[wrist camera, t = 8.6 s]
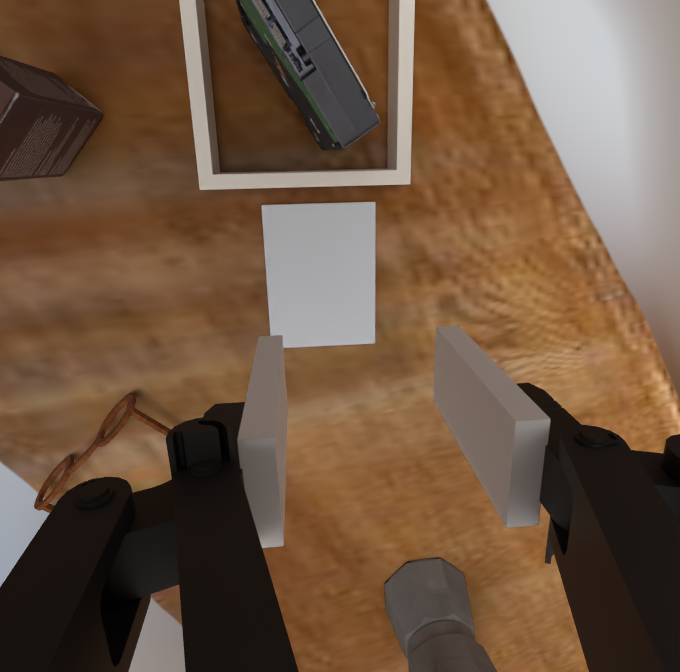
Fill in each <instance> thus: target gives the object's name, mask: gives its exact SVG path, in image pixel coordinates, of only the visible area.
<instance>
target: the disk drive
mask: <svg viewBox="0 0 680 672" xmlns="http://www.w3.org/2000/svg"><path fill="white" fill-rule="evenodd" d="M236 3H237V6H238V9H239V12H240V17H241V20H242V22H243V24H244V26H245V28H246V29H247V31H248V32H249V34H250V35H251V37H252V39H253V40H254V42H255V43H256V45H257V47H258V48H259V49H260V51H261V53H262V54H263V56H264V58H265V59H266V60H267V62H268V64H269V66H270V67H271V68H272V70H273V72H274V74H275V75H276V77H277V79H278V80H279V82H280V83H281V85H282V87H283V88H284V90H285V91H286V93H287V94H288V96H289V97H290V98H291V99H292V100H293V102H294V103H295V105H296V106H297V108H298V110H299V111H300V113H301V114H302V116H303V118H304V119H305V122H306V125H307V126H308V128H309V130H310V131H311V133H312V134H313V136H314V137H315V139H316V141H317V142H318V144H319V145H320V147H321V149H323V150H330V149H331V150H342V149H345V148H347V147H348V146H350V145H351V144H352V143H354V142H356V141H357V140H359V139H360V138H361V137H363V136H364V135H365V134H367V133H368V132H370V131H371V130H372V129H374V128H375V127H376V126H378V125H379V124H380V123H381V122H380V119H379V116H378V114H376V113H375V110H374V108H375V102H370V98H369V96H368V93H367V91H366V89H365V88H364V86H363V84H362V83H361V81H360V79H359V77H358V75H357V74H356V72H355V70H354V69H353V67H352V65H351V64H350V62H349V60H348V58H347V56H346V55H345V53H344V51H343V49H342V48H341V46H340V44H339V42H338V41H337V39H336V37H335V36H334V34H333V32H332V30H331V28H330V27H329V25H328V24H327V21H326V19H325V18H324V16H323V14H322V12H321V11H320V9H319V7H318V6H317V5H316V2H315V0H236Z"/></svg>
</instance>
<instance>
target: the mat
mask: <svg viewBox="0 0 680 672" xmlns="http://www.w3.org/2000/svg"><path fill="white" fill-rule="evenodd" d="M261 206H262V220H263V235H264V249H265V263H266V278H267V292H268V306H269V320H270V335H271V336H274V335H282V336H283V348H292V347H312V346H332V345H352V344H372V343H375V201H374V202H340V203H305V204H271V205H261Z"/></svg>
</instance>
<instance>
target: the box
mask: <svg viewBox="0 0 680 672" xmlns="http://www.w3.org/2000/svg"><path fill="white" fill-rule="evenodd" d="M102 116H103V113H102V112H101V111H100V110H99V109H98V108H97V107H96V106H95V105H93V104H92V103H90V102H89V101H88V100H87V99H86V98H84V97H83V96H82V95H81V94H79V93H78V92H77V91H75V90H74V89H73V88H72V87H71V86H69V85H68V84H67V83H65V82H64V81H63V80H62V79H61V78H59V77H58V76H57V75H56V74H55V73H51V72H49V71H45V70H42V69H39V68H36V67H33V66H30V65H27V64H24V63H21V62H18V61H15V60H12V59H9V58H6V57H2V56H0V181H5V180H17V179H31V178H43V177H56V176H63V174H64V173H65V171H66V170H67V169H68V167H69V166H70V164H71V163H72V161H73V160H74V158H75V157H76V155H77V154H78V152H79V151H80V150H81V148H82V147H83V145H84V144H85V142H86V141H87V139H88V137H89V136H90V135H91V133H92V132H93V130H94V128H95V127H96V125H97V124H98V122H99V121H100V119H101V118H102Z"/></svg>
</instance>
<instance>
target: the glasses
mask: <svg viewBox="0 0 680 672" xmlns="http://www.w3.org/2000/svg"><path fill="white" fill-rule="evenodd" d="M126 403H128V406H127V409H126V411H125V413H124V415H123V417H122V418H121V420H120V421H119V423H118V424H117V425H116V426H115V428H114V429H113V430H112V431H111V432H110V433H109V434H108V435H107V436H106V437H104V434H105V431H106V429H107V427H108V425H109V423H110V422H111V420H112V419H113V417H114V416H115V415H116V413H117V412H118V411H119V410H120V409H121V408H122V407H123V406H124V405H125V404H126ZM135 404H136V397H135V396H134V395H132V394H128V395H127V396H125V397H124V398H123V399H122V400H121V401H120V402H119V403H118V404H117V405H116V406H115V407H114V408H113V409H112V411H111V412H110V413H109V414H108V416H107V417H106V419H105V420H104V422H103V424H102V426H101V428H100V430H99V432H98V435H97V437H96V440H95V441H94V443H93V444H92V445H91V446H90V447H89V449H88V450H87V451H86V452H85V453H84V454H83V455H82V456H81V457H80V458H79V459H78V460H77V461H76V462H75V463H74V458H72V457H70V456H68V457H66V458H65V459H64V460H63V461H62V462H61V463H60V464H59V465H58V466H57V467H56V468H55V469H54V470H53V472H52V473H51V474H50V475H49V477H48V478H47V480H46V481H45V483H44V484H43V486H42V488H41V490H40V492H39V494H38V496H37V498H36V501H35V505H34V508H35V509H37V510H44V511H46V512H49V513H50V512H51V511H52V510H53V508H54V507H55V506H54V505H52V504H50V502H51V501H52V500H53V499H54V498H55V496H56V495H57V494H58V493H59V491H60V490H61V489H62V487H63V486H64V484H65V483H66V481H67V480H68V478H69V476H70V474H71V473H73V472H75V471H76V470H77V469H78V468H79V467H80V466H81V465H82V464H83V463H84V462H85V461H86V460H87V459H88V458H89V457H90V456H91V454H92V453H93V452H94V451H95V449H96V448H97V447H102V446H105V445H106V444H108V443H109V442H110V441H111V440H112V439H113V438H114V437H115V436H116V435H117V434H118V433H119V431H120V430H121V429H122V428H123V426H124V425H125V424H126V422H127V421H128V419H129V417H130V416H131V415H132V416H133V417H135V418H137V419H139V420H140V421H142V422H144V423H145V424H147V425H149V426H151V427H152V428H154V429H156V430H157V431H159V432H161V433H162V434H164V435H166V436H167V434H168V432H169V431H170V430H171V429H169V428H167V427H166V426H164V425H162V424H161V423H159V422H157V421H155V420H154V419H152V418H150V417H149V416H147V415H145V414H144V413H142V412H140V411H139V410H137V409H135V408H134V407H135ZM65 466H66V469H65V471H64V474H63V476H62V477H61V479H60V481H59V482H58V484H57V485H56V487H55V488H54V489H53V491H52V492H51V493H50V494H49V495H48V496H47V497H46V498H45V499H44V500H43V497H44V495H45V493H46V491H47V489H48V487H49V485H50V484H51V482H52V481H53V479H54V478H55V477H56V475H57V474H58V473H59V472H60V471H61V470H62V469H63V468H64V467H65Z"/></svg>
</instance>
